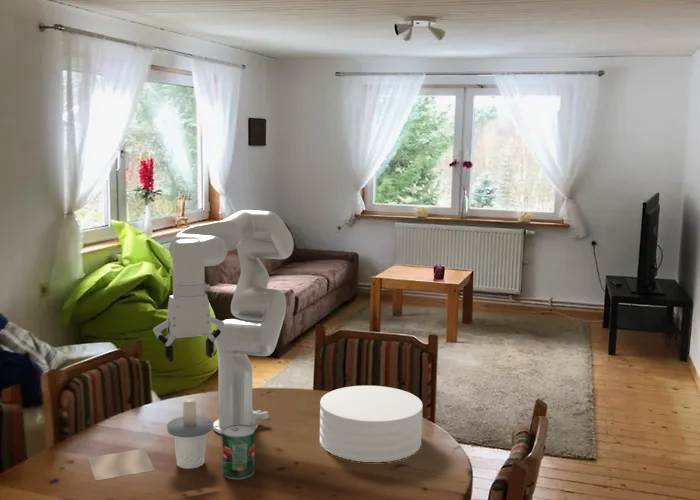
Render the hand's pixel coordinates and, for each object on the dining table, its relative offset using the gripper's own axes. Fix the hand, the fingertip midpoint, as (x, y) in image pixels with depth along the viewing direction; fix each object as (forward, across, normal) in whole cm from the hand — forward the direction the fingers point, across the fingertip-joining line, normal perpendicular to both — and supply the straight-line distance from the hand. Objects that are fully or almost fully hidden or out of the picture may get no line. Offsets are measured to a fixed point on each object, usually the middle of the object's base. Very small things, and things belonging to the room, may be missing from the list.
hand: (189, 358), depth 184 cm
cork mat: (+28, +16, -6) cm, 33 cm away
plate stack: (+29, -49, +4) cm, 57 cm away
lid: (+18, 0, 0) cm, 18 cm away
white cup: (+28, 0, 0) cm, 28 cm away
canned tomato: (+28, -10, +8) cm, 31 cm away
